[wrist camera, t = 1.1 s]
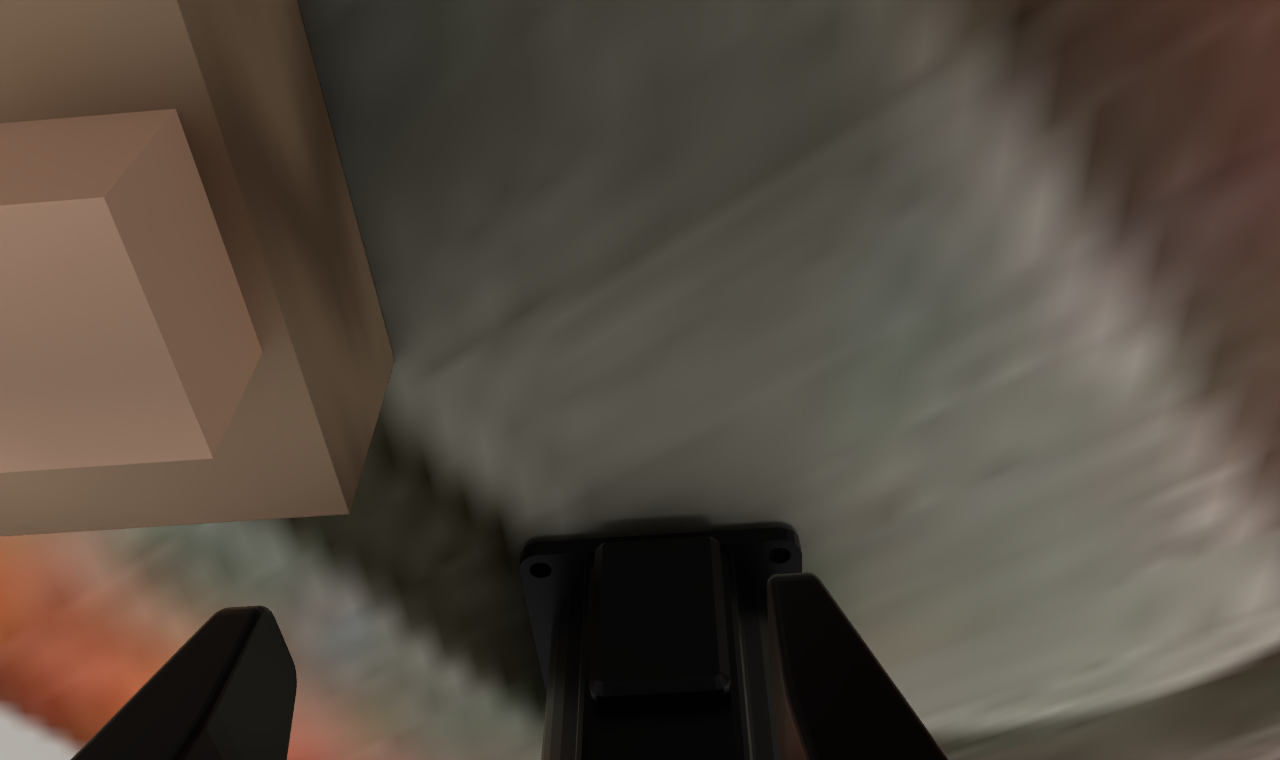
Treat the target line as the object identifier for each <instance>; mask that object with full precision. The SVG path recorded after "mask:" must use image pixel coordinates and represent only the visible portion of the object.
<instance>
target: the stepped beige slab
mask: <svg viewBox="0 0 1280 760" xmlns="http://www.w3.org/2000/svg"><path fill="white" fill-rule="evenodd" d="M166 109H176V111H177V114H178V117H179V119H180V122H181V125H182V128H183V131H184V134H185V136H186V139H187V142H188V145H189V148H190V150H191V153H192V156H193V159H194V162H195V164H196V167H197V170H198V173H199V176H200V178H201V181H202V184H203V187H204V190H205V192H206V195H207V198H208V201H209V204H210V206H211V209H212V212H213V215H214V218H215V220H216V223H217V226H218V229H219V232H220V234H221V237H222V240H223V243H224V246H225V248H226V251H227V254H228V257H229V260H230V262H231V265H232V268H233V271H234V274H235V276H236V279H237V282H238V285H239V288H240V290H241V293H242V296H243V299H244V302H245V304H246V307H247V310H248V313H249V316H250V318H251V321H252V324H253V327H254V330H255V332H256V335H257V338H258V341H259V344H260V346H261V349H262V354H261V357H260V359H259V361H258V363H257V365H256V367H255V369H254V372H253V374H252V376H251V378H250V380H249V382H248V385H247V387H246V389H245V391H244V393H243V395H242V398H241V400H240V402H239V404H238V406H237V408H236V411H235V413H234V415H233V417H232V419H231V421H230V424H229V426H228V428H227V430H226V432H225V434H224V437H223V439H222V441H221V443H220V445H219V447H218V449H217V452H216V454H215V456H214V458H213V459H199V460H184V461H169V462H154V463H140V464H125V465H110V466H95V467H80V468H66V469H51V470H36V471H21V472H6V473H0V536H15V535H31V534H46V533H62V532H77V531H93V530H108V529H124V528H139V527H155V526H170V525H186V524H202V523H217V522H233V521H248V520H264V519H279V518H295V517H310V516H326V515H341V514H349V513H350V510H351V506H352V503H353V500H354V496H355V493H356V490H357V486H358V483H359V480H360V476H361V473H362V469H363V466H364V463H365V459H366V456H367V453H368V449H369V446H370V443H371V439H372V436H373V432H374V429H375V426H376V422H377V419H378V416H379V412H380V409H381V406H382V402H383V399H384V395H385V392H386V389H387V385H388V382H389V379H390V375H391V372H392V369H393V365H394V362H395V360H394V356H393V353H392V349H391V345H390V342H389V338H388V334H387V331H386V327H385V323H384V320H383V316H382V312H381V309H380V305H379V301H378V297H377V294H376V290H375V286H374V283H373V279H372V275H371V272H370V268H369V264H368V261H367V257H366V253H365V250H364V246H363V242H362V238H361V235H360V231H359V227H358V224H357V220H356V216H355V213H354V209H353V205H352V202H351V198H350V194H349V190H348V187H347V183H346V179H345V176H344V172H343V168H342V165H341V161H340V157H339V154H338V150H337V146H336V143H335V139H334V135H333V131H332V128H331V124H330V120H329V117H328V113H327V109H326V106H325V102H324V98H323V95H322V91H321V87H320V84H319V80H318V76H317V72H316V69H315V65H314V61H313V58H312V54H311V50H310V47H309V43H308V39H307V36H306V32H305V28H304V24H303V21H302V17H301V13H300V10H299V6H298V2H297V0H0V123H12V122H24V121H36V120H48V119H60V118H71V117H83V116H95V115H107V114H119V113H131V112H143V111H154V110H166Z"/></svg>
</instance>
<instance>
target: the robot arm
mask: <svg viewBox="0 0 1280 760" xmlns="http://www.w3.org/2000/svg"><path fill="white" fill-rule="evenodd" d="M776 548H785V549H784V550H780V551H774V550H773V549H776ZM536 563H545V564H547V565H537V564H536ZM519 573H520V578H521V582H522V587H523V591H524V596H525V600H526V605H527V609H528V614H529V619H530V623H531V628H532V632H533V637H534V641H535V646H536V651H537V655H538V660H539V664H540V669H541V673H542V678H543V683H544V687H545V692H546V708H545V721H544V733H543V745H542V758H541V760H949V759H948V758H947V756H946V755H945V754H944V752H943V751H942V749H941V748H940V747H939V745H938V744H937V742H936V741H935V740H934V738H933V737H932V735H931V734H930V733H929V731H928V730H927V728H926V727H925V726H924V724H923V723H922V722H921V720H920V719H919V717H918V716H917V715H916V713H915V712H914V710H913V709H912V708H911V706H910V705H909V703H908V702H907V701H906V699H905V698H904V696H903V695H902V694H901V692H900V691H899V689H898V688H897V687H896V685H895V684H894V682H893V681H892V680H891V678H890V677H889V675H888V674H887V673H886V671H885V670H884V668H883V667H882V666H881V664H880V663H879V661H878V660H877V659H876V657H875V656H874V654H873V653H872V652H871V650H870V649H869V647H868V646H867V645H866V643H865V642H864V640H863V639H862V638H861V636H860V635H859V633H858V632H857V631H856V629H855V628H854V626H853V625H852V624H851V622H850V621H849V619H848V618H847V617H846V615H845V614H844V612H843V611H842V610H841V608H840V607H839V605H838V604H837V603H836V601H835V600H834V598H833V597H832V596H831V594H830V593H829V591H828V590H827V589H826V587H825V586H824V584H823V583H822V582H821V580H820V579H819V578H818V577H817V576H816V575H814V574H812V573H807V572H806V573H802V553H801V546H800V541H799V537H798V535H797V534H796V533H795V532H794V531H792V530H789V529H787V528H763V529H747V530H731V531H715V532H699V533H683V534H667V535H651V536H635V537H619V538H603V539H587V540H571V541H555V542H539V543H534V544H530V545H529V546H527V547H525V548H524V550H523V551H522V553H521V558H520V567H519ZM296 687H297V679H296V670H295V665H294V662H293V660H292V657H291V655H290V653H289V650H288V648H287V646H286V643H285V641H284V638H283V636H282V634H281V631H280V629H279V627H278V624H277V622H276V620H275V617H274V616H273V614H272V612H271V611H270V610H269V609H268V608H266V607H264V606H247V607H230V608H224V609H222V610H220V611H218V612H217V613H215V614H214V615H213V616H212V617H211V618H210V619H209V620H208V621H207V622H206V623H205V624H204V625H203V626H202V627H201V628H200V629H199V630H198V631H197V632H196V633H195V634H194V635H193V636H192V637H191V638H190V639H189V640H188V641H187V642H186V643H185V644H184V645H183V646H182V647H181V648H180V649H179V650H178V651H177V652H176V653H175V654H174V655H173V656H172V657H171V658H170V659H169V660H168V661H167V662H166V663H165V664H164V665H163V666H162V667H161V668H160V669H159V671H158V672H157V673H156V674H155V675H154V676H153V677H152V678H151V679H150V680H149V681H148V682H147V683H146V684H145V685H144V686H143V687H142V688H141V689H140V690H139V691H138V692H137V693H136V694H135V695H134V696H133V697H132V698H131V699H130V700H129V701H128V702H127V703H126V704H125V705H124V706H123V707H122V708H121V709H120V710H119V711H118V712H117V713H116V714H115V715H114V716H113V717H112V718H111V719H110V720H109V721H108V722H107V723H106V724H105V725H104V726H103V727H102V728H101V729H100V730H99V731H98V732H97V733H96V735H95V736H94V737H93V738H92V739H91V740H90V741H89V742H88V743H87V744H86V745H85V746H84V747H83V748H82V749H81V750H80V751H79V752H78V753H77V754H76V755H75V756H74V757H73V758H72V759H71V760H287V753H288V746H289V739H290V732H291V725H292V718H293V711H294V703H295V696H296Z"/></svg>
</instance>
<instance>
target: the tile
mask: <svg viewBox="0 0 1280 760" xmlns="http://www.w3.org/2000/svg"><path fill="white" fill-rule="evenodd" d="M261 354H262V349H261V346H260V344H259V341H258V338H257V335H256V332H255V330H254V327H253V324H252V321H251V318H250V316H249V313H248V310H247V307H246V304H245V302H244V299H243V296H242V293H241V290H240V288H239V285H238V282H237V279H236V276H235V274H234V271H233V268H232V265H231V262H230V260H229V257H228V254H227V251H226V248H225V246H224V243H223V240H222V237H221V234H220V232H219V229H218V226H217V223H216V220H215V218H214V215H213V212H212V209H211V206H210V204H209V201H208V198H207V195H206V192H205V190H204V187H203V184H202V181H201V178H200V176H199V173H198V170H197V167H196V164H195V162H194V159H193V156H192V153H191V150H190V148H189V145H188V142H187V139H186V136H185V134H184V131H183V128H182V125H181V122H180V119H179V117H178V114H177V111H176V109H166V110H154V111H143V112H131V113H119V114H107V115H95V116H83V117H71V118H60V119H48V120H36V121H24V122H12V123H0V473H6V472H21V471H36V470H51V469H66V468H80V467H95V466H110V465H125V464H140V463H154V462H169V461H184V460H199V459H213V458H214V456H215V454H216V452H217V449H218V447H219V445H220V443H221V441H222V439H223V437H224V434H225V432H226V430H227V428H228V426H229V424H230V421H231V419H232V417H233V415H234V413H235V411H236V408H237V406H238V404H239V402H240V400H241V398H242V395H243V393H244V391H245V389H246V387H247V385H248V382H249V380H250V378H251V376H252V374H253V372H254V369H255V367H256V365H257V363H258V361H259V359H260V357H261Z"/></svg>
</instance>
